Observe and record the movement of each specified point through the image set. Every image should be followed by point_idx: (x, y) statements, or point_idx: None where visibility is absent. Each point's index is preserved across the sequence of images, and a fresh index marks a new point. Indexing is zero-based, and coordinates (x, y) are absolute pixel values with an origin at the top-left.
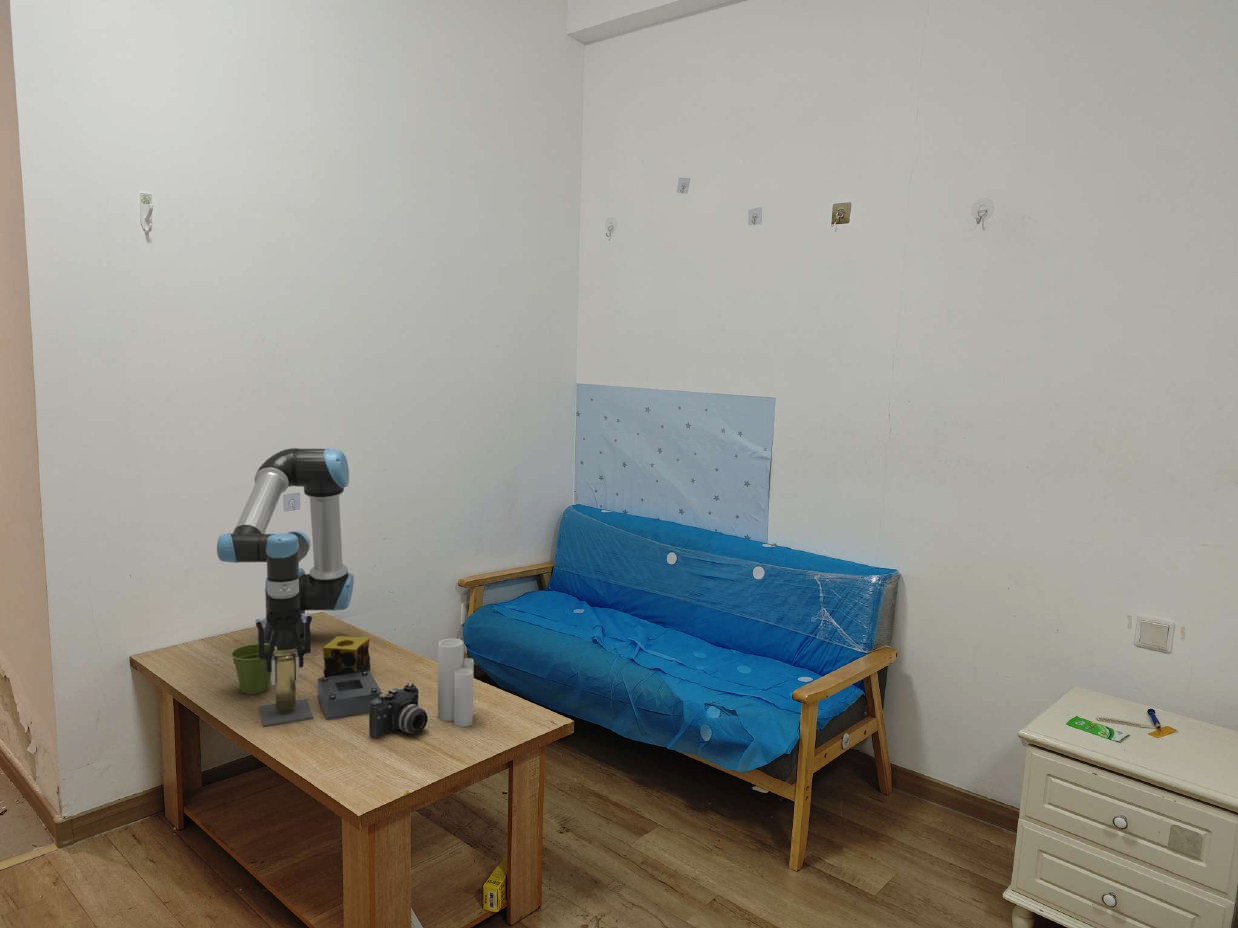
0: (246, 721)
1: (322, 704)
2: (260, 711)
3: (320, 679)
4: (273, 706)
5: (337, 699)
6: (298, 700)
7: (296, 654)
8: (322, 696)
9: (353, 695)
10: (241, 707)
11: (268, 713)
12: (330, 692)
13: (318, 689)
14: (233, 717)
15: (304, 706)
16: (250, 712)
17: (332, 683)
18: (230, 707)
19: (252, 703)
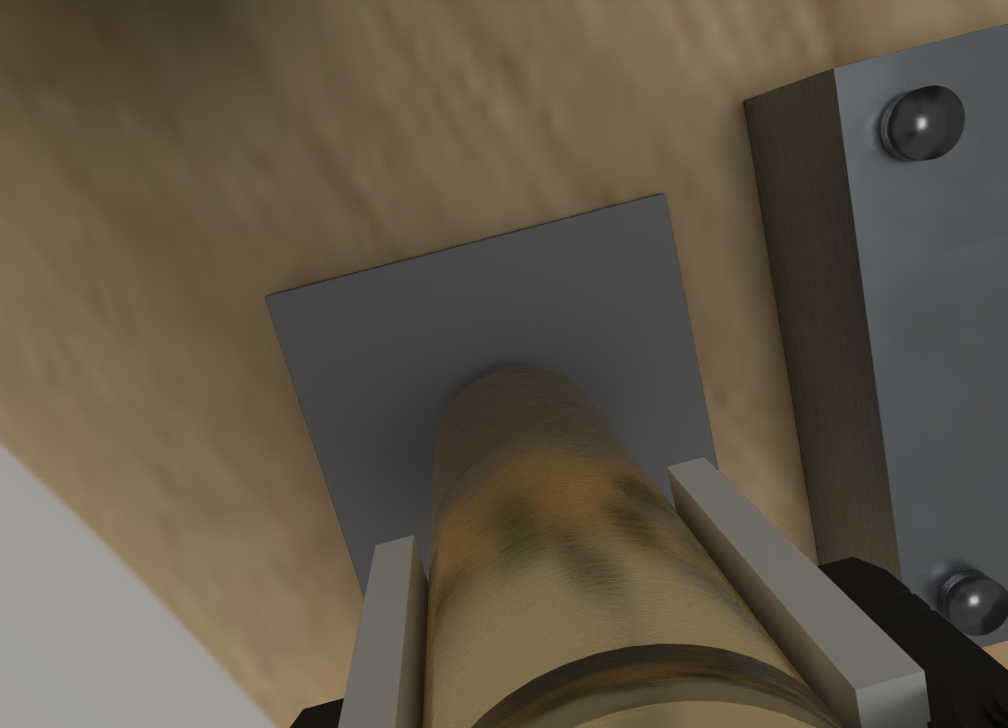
0: (233, 533)
1: (806, 387)
2: (306, 413)
3: (866, 103)
4: (396, 325)
5: (1004, 637)
6: (594, 228)
7: (898, 720)
8: (848, 415)
9: None
10: (108, 255)
11: (382, 457)
12: (953, 475)
13: (793, 154)
14: (104, 449)
15: (655, 361)
16: (219, 371)
17: (985, 246)
18: (5, 239)
19: (184, 179)
